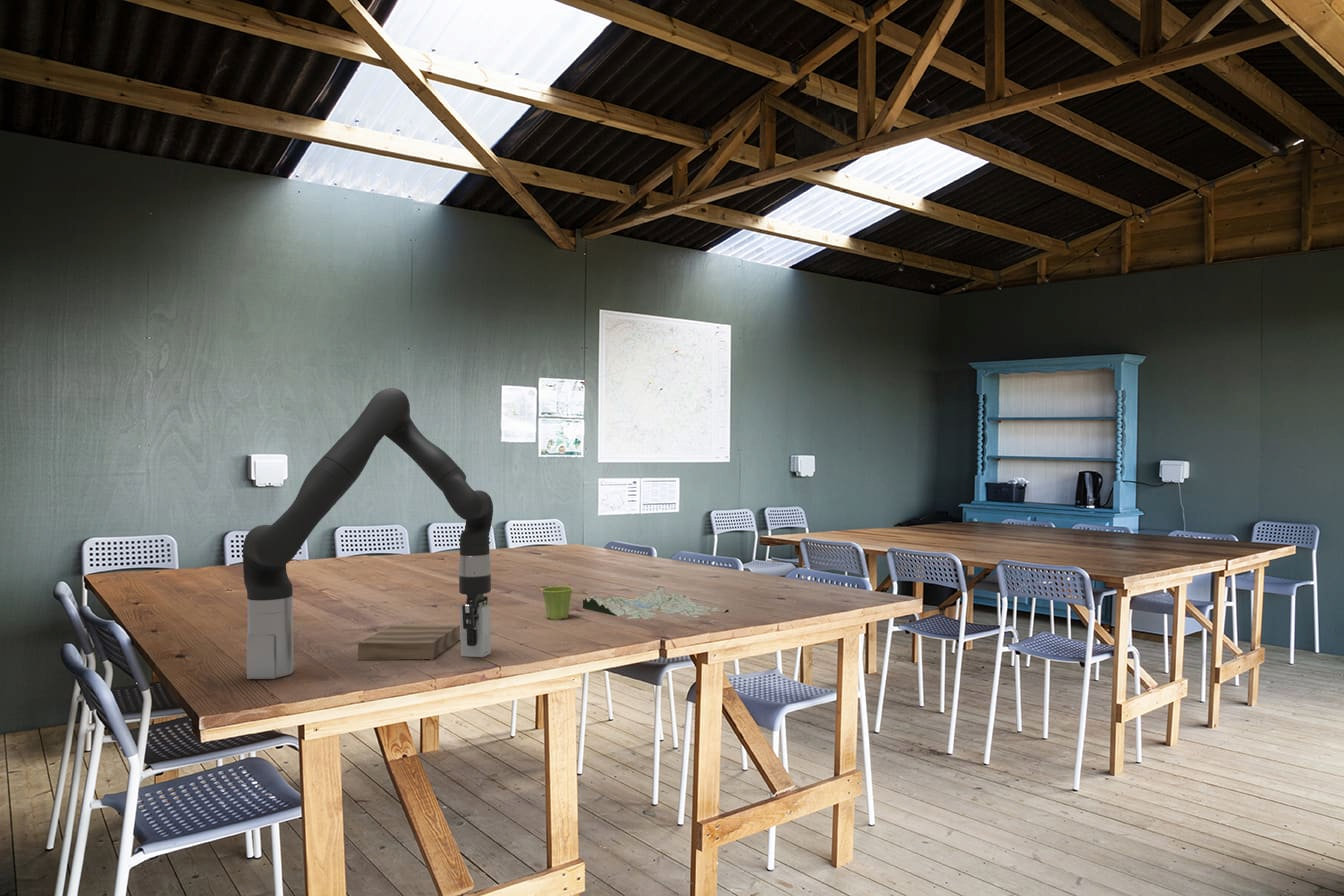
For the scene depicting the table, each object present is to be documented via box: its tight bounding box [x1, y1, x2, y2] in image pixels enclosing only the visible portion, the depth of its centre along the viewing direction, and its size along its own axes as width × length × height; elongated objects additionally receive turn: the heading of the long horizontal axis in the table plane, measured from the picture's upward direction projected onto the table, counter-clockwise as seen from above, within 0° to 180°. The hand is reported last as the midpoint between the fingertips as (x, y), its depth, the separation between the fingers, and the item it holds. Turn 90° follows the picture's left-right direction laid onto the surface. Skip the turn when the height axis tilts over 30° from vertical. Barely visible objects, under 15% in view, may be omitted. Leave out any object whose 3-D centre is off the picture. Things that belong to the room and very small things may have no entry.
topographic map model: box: [582, 585, 729, 621], centre depth 272 cm, size 36×29×5 cm
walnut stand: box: [357, 624, 461, 661], centre depth 220 cm, size 22×18×4 cm
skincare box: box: [459, 604, 492, 658], centre depth 213 cm, size 6×4×12 cm
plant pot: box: [541, 585, 574, 621], centre depth 260 cm, size 9×9×9 cm
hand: (475, 642), depth 213 cm, fingers open, 5 cm apart
